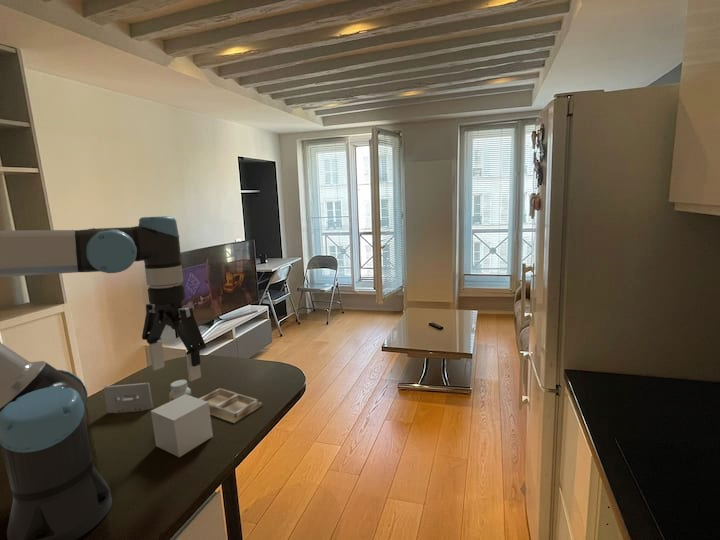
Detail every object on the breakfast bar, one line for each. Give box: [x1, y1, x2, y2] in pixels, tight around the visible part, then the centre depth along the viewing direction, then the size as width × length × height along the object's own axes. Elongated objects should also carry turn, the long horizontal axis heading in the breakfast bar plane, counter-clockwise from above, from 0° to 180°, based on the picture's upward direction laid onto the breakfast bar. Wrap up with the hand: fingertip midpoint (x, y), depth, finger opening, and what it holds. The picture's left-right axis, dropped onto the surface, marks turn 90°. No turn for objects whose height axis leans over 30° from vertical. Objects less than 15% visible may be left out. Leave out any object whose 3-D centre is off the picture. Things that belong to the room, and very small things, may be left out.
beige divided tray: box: [198, 387, 264, 424], centre depth 110 cm, size 10×17×2 cm, turn 58°
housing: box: [150, 394, 214, 458], centre depth 94 cm, size 9×9×9 cm
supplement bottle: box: [168, 379, 193, 402], centre depth 106 cm, size 5×5×10 cm
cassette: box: [103, 382, 154, 414], centre depth 111 cm, size 12×2×8 cm, turn 95°
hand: (176, 373), depth 94 cm, fingers open, 13 cm apart
